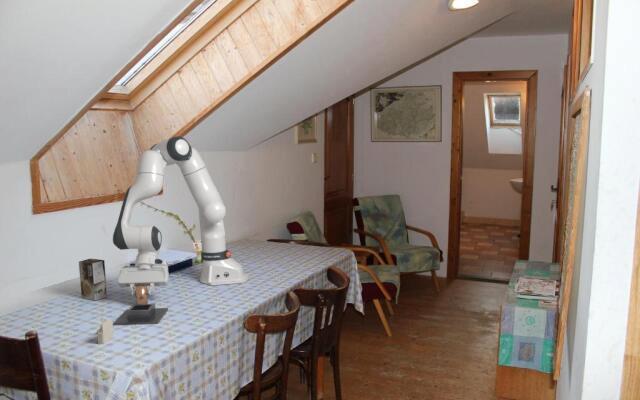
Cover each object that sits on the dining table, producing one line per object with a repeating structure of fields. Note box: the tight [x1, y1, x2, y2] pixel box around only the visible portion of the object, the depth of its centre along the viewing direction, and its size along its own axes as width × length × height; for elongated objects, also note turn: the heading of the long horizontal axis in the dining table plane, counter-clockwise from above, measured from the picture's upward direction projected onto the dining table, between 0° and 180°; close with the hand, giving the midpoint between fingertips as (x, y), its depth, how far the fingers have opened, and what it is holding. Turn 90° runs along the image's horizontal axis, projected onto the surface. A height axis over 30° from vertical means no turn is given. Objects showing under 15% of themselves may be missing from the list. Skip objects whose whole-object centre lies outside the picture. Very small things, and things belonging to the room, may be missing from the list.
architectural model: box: [93, 317, 115, 345], centre depth 188 cm, size 3×7×7 cm, turn 167°
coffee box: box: [78, 258, 108, 301], centre depth 238 cm, size 9×6×16 cm
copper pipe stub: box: [134, 285, 149, 305], centre depth 225 cm, size 4×4×8 cm
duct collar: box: [112, 303, 169, 326], centre depth 211 cm, size 16×16×4 cm
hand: (141, 294), depth 225 cm, fingers closed on copper pipe stub, 4 cm apart
